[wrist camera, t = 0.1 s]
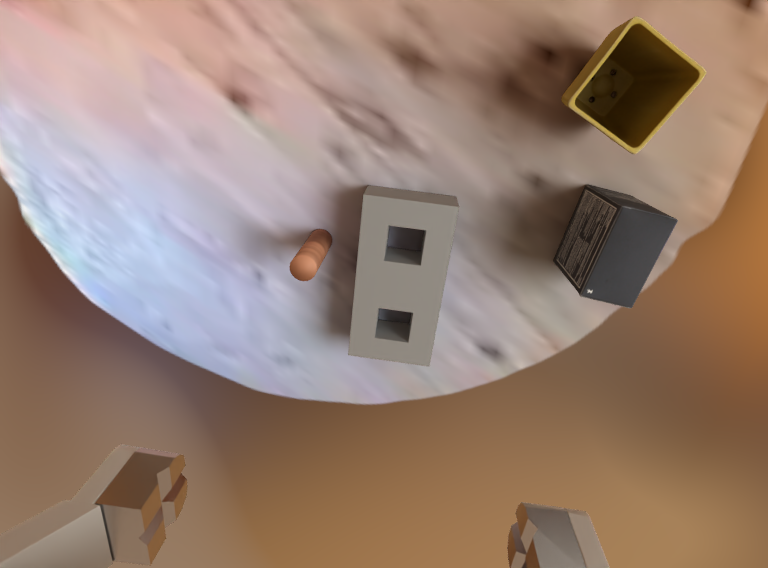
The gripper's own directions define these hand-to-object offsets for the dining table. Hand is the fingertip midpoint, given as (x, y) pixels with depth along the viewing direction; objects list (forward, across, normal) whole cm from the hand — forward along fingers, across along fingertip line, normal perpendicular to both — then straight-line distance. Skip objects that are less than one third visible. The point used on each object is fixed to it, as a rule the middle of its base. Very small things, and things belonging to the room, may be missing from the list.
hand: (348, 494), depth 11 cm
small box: (+48, -24, +5) cm, 54 cm away
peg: (+48, +10, +11) cm, 50 cm away
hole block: (+48, -1, +14) cm, 50 cm away
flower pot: (+48, -20, -11) cm, 53 cm away
